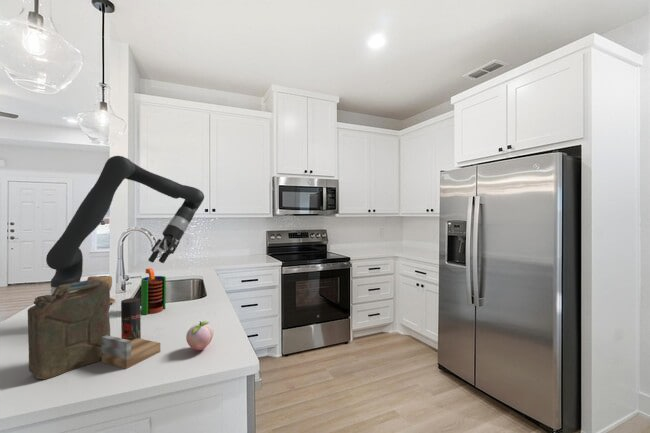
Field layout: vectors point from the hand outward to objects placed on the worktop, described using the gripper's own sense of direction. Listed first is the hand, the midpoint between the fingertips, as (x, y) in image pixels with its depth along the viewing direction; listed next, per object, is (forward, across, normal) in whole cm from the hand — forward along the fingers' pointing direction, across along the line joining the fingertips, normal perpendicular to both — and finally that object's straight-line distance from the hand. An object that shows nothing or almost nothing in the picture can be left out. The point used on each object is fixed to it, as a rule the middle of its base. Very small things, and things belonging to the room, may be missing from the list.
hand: (155, 261), depth 127 cm
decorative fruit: (+25, +32, +15) cm, 43 cm away
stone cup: (+20, -54, +10) cm, 59 cm away
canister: (+40, +10, -9) cm, 43 cm away
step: (+33, +18, +2) cm, 38 cm away
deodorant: (+29, +5, +6) cm, 30 cm away
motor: (+15, -23, +22) cm, 35 cm away
